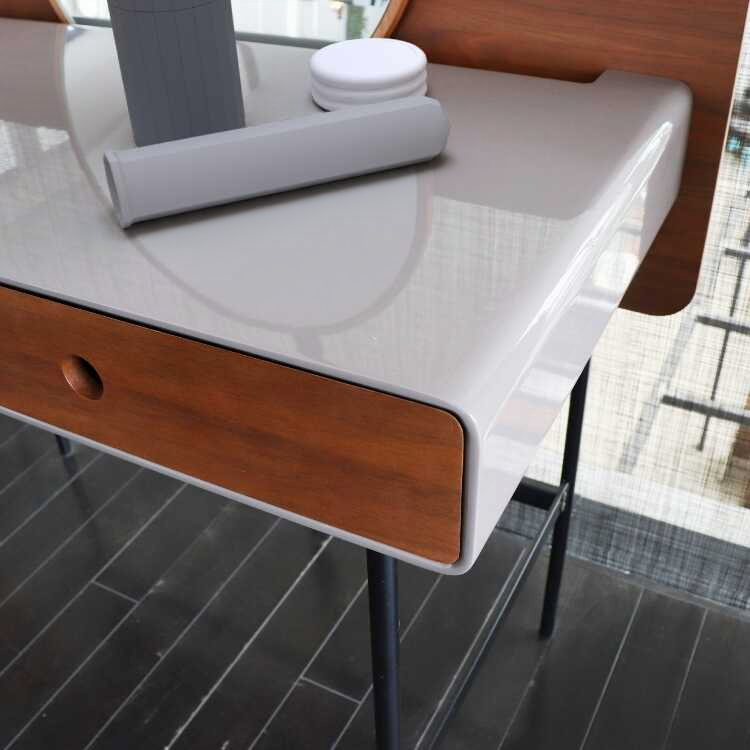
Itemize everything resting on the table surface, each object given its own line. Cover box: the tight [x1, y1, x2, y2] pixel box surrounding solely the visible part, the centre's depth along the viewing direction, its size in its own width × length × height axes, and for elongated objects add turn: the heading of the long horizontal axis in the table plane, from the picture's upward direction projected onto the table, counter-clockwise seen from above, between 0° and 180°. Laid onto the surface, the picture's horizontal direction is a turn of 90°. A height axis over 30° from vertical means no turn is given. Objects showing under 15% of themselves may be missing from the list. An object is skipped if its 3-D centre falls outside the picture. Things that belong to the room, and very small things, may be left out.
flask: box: [106, 0, 247, 148], centre depth 77 cm, size 9×9×14 cm
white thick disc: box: [308, 37, 428, 112], centre depth 85 cm, size 10×10×4 cm
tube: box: [102, 95, 452, 230], centre depth 71 cm, size 5×5×25 cm
